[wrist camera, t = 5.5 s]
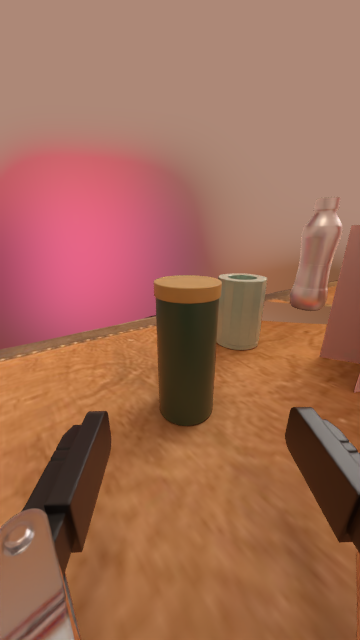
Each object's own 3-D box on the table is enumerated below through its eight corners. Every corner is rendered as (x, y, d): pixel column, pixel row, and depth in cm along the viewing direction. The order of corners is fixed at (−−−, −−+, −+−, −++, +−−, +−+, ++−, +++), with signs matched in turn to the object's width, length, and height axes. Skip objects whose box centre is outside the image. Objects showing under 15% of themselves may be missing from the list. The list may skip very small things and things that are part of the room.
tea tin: (156, 428, 18) (150, 288, 14) (159, 388, 22) (155, 275, 18) (218, 426, 18) (229, 287, 14) (208, 387, 22) (215, 275, 18)
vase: (219, 350, 30) (224, 281, 26) (211, 332, 35) (215, 273, 32) (265, 349, 30) (275, 281, 27) (250, 331, 35) (257, 273, 32)
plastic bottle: (280, 307, 47) (298, 199, 40) (301, 303, 50) (321, 202, 43) (309, 316, 42) (336, 194, 35) (331, 311, 45) (359, 197, 38)
